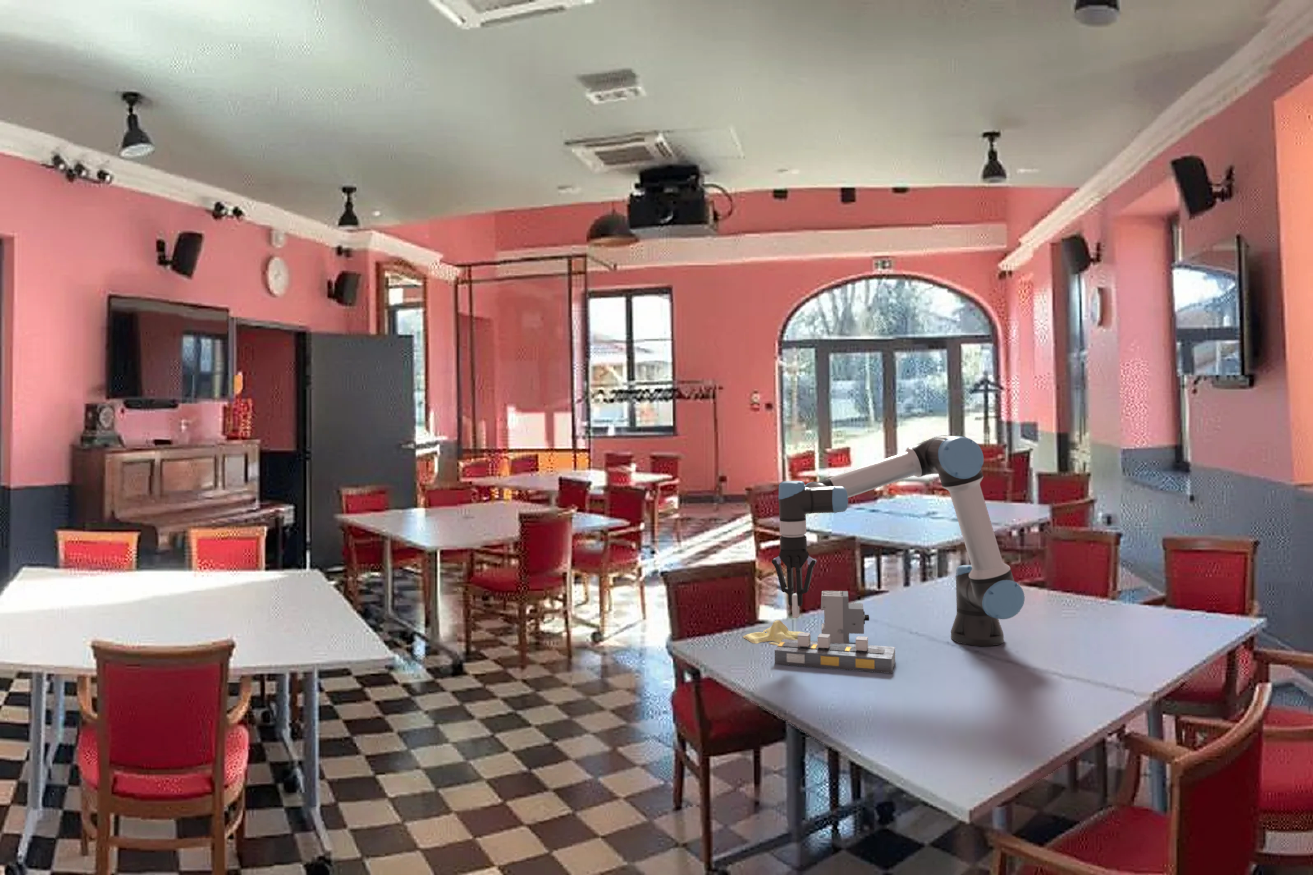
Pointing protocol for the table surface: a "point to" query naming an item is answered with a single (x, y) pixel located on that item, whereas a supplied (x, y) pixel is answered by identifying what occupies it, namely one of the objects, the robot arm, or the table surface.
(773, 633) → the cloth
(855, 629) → the circuit breaker
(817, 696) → the table surface
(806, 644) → the knob
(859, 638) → the knob
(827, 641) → the knob
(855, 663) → the console
